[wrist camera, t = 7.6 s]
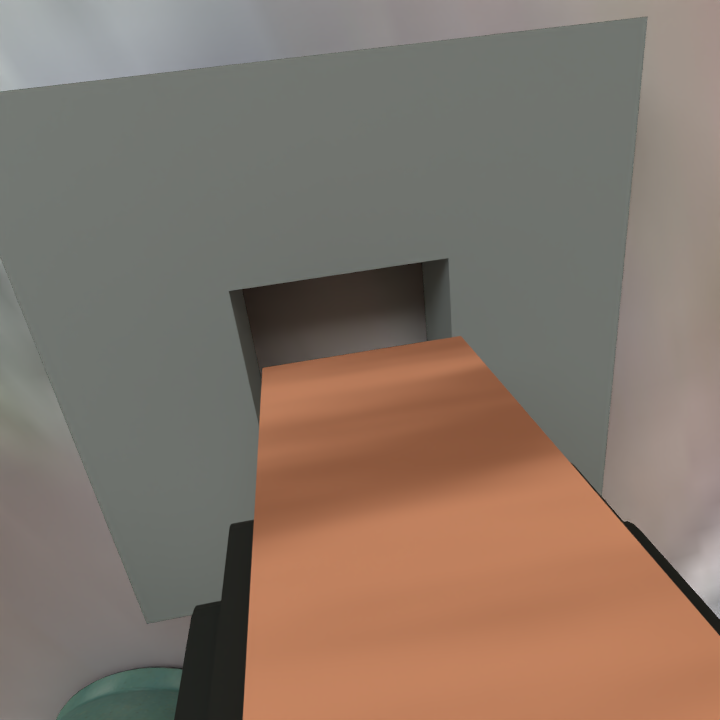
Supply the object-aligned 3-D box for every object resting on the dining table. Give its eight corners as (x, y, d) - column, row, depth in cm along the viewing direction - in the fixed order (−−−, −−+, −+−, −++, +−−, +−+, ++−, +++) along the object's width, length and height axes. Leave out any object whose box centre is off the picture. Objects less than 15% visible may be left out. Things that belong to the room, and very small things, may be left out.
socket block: (3, 102, 16) (-64, 98, 13) (580, 34, 18) (647, 16, 14) (163, 556, 24) (147, 624, 21) (557, 481, 25) (598, 534, 22)
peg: (262, 367, 13) (199, 1498, 2) (460, 335, 14) (1187, 1175, 3) (295, 526, 15) (342, 1519, 4) (466, 494, 16) (896, 1334, 5)
